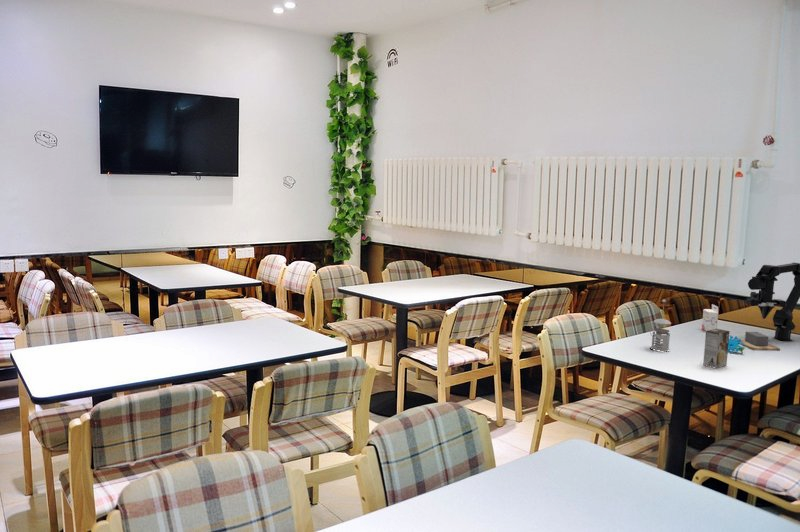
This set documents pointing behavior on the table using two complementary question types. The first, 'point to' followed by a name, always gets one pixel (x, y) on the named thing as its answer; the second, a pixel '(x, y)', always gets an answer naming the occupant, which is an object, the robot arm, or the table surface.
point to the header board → (753, 347)
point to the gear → (735, 345)
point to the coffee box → (716, 348)
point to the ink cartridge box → (710, 318)
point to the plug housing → (756, 338)
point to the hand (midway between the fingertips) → (763, 318)
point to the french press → (660, 335)
